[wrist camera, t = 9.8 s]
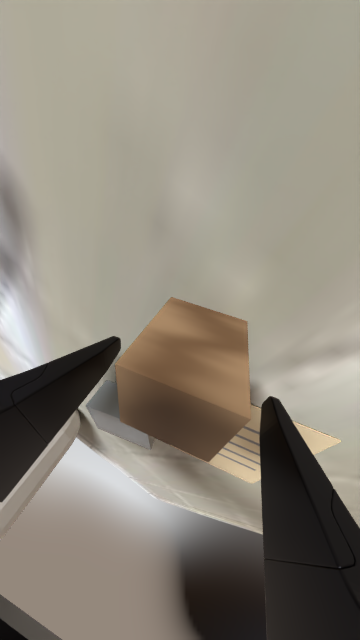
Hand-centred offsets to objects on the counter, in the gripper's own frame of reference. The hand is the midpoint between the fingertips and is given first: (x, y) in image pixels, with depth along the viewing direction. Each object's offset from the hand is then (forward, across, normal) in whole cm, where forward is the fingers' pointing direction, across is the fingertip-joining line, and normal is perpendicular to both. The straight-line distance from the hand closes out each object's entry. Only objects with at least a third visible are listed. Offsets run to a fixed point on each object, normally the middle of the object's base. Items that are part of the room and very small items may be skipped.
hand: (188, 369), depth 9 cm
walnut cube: (+3, 0, 0) cm, 3 cm away
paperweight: (+3, +5, +13) cm, 14 cm away
